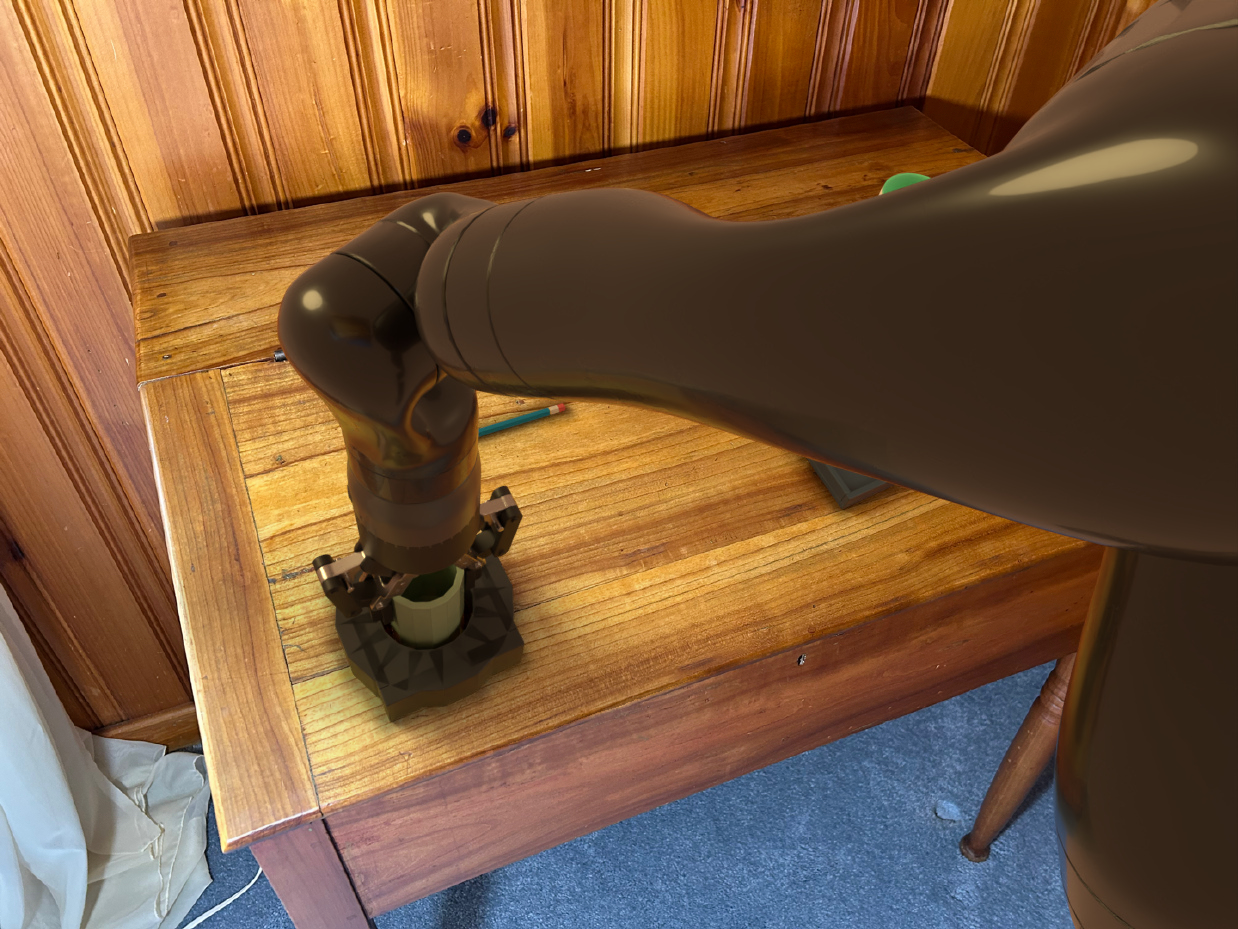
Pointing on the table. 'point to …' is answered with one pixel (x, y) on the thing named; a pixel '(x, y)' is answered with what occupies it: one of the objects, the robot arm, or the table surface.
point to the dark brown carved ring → (436, 650)
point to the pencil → (521, 419)
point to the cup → (430, 610)
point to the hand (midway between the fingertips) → (425, 594)
